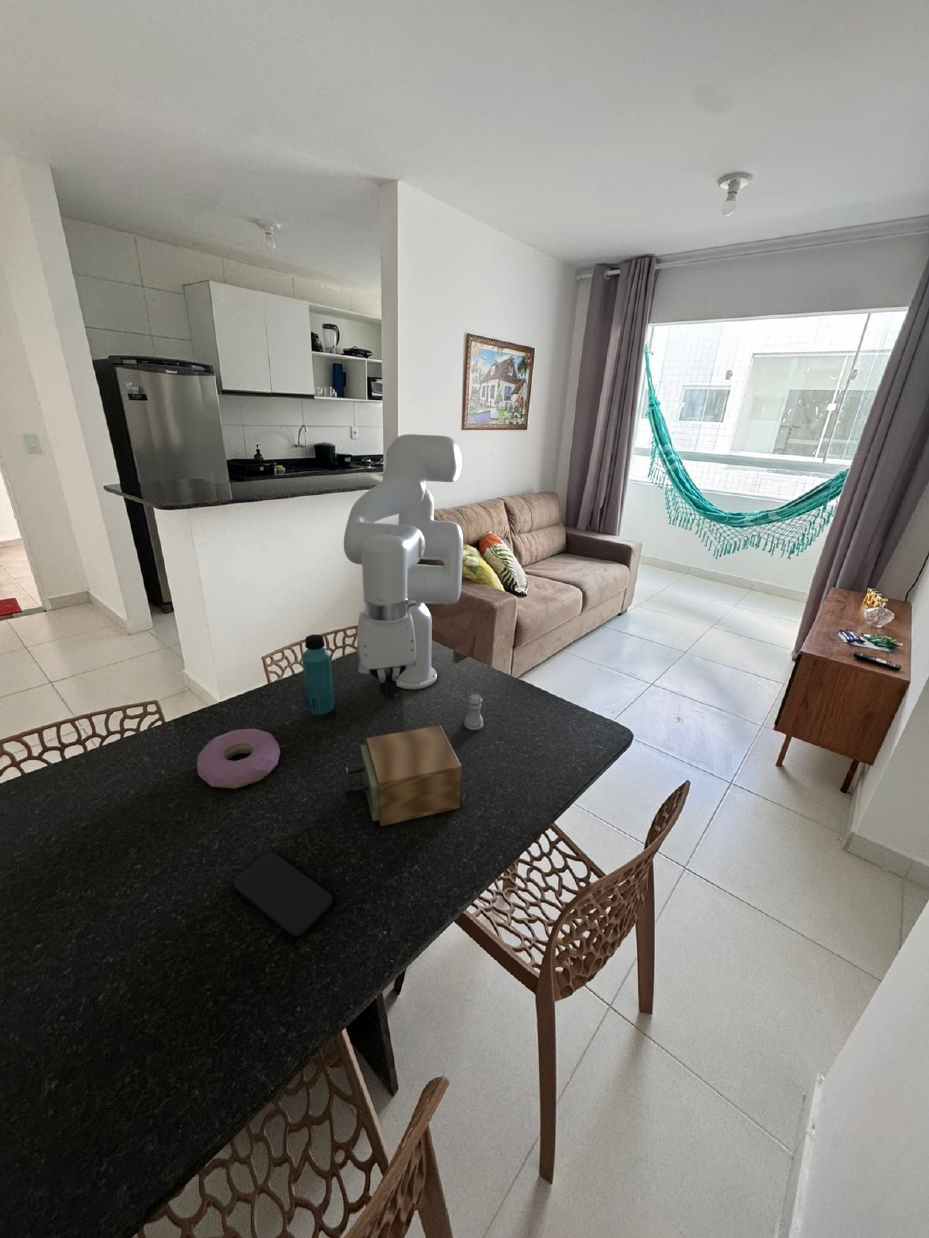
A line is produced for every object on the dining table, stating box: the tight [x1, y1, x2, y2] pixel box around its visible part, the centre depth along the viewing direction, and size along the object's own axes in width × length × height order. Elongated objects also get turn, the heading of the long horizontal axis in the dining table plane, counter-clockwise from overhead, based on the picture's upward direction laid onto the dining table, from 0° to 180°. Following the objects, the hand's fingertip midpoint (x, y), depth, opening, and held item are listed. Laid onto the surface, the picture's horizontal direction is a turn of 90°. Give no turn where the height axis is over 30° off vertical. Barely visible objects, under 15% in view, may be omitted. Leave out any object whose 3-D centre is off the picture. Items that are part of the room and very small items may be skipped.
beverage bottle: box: [301, 634, 336, 716], centre depth 117 cm, size 6×7×20 cm
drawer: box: [340, 743, 380, 822], centre depth 95 cm, size 18×12×8 cm, turn 110°
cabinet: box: [365, 724, 462, 827], centre depth 96 cm, size 15×13×10 cm
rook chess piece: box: [463, 692, 484, 732], centre depth 117 cm, size 4×4×8 cm
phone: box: [232, 851, 333, 937], centre depth 77 cm, size 7×1×15 cm
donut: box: [196, 728, 281, 790], centre depth 102 cm, size 16×15×5 cm
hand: (388, 695), depth 96 cm, fingers closed
